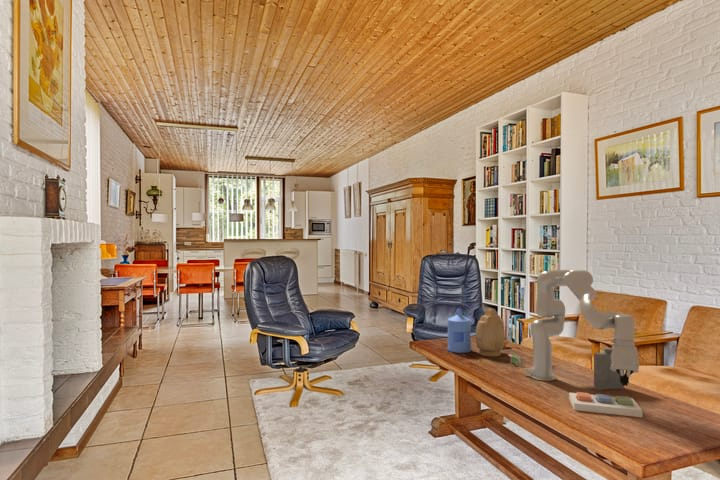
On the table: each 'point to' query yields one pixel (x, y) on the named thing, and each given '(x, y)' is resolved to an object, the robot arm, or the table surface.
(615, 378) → the hip flask
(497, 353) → the sculpture
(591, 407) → the button board
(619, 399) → the olive green button
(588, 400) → the terracotta button
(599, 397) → the slate blue button
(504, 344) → the magic lamp
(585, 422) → the table surface
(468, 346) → the water jug
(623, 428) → the table surface
